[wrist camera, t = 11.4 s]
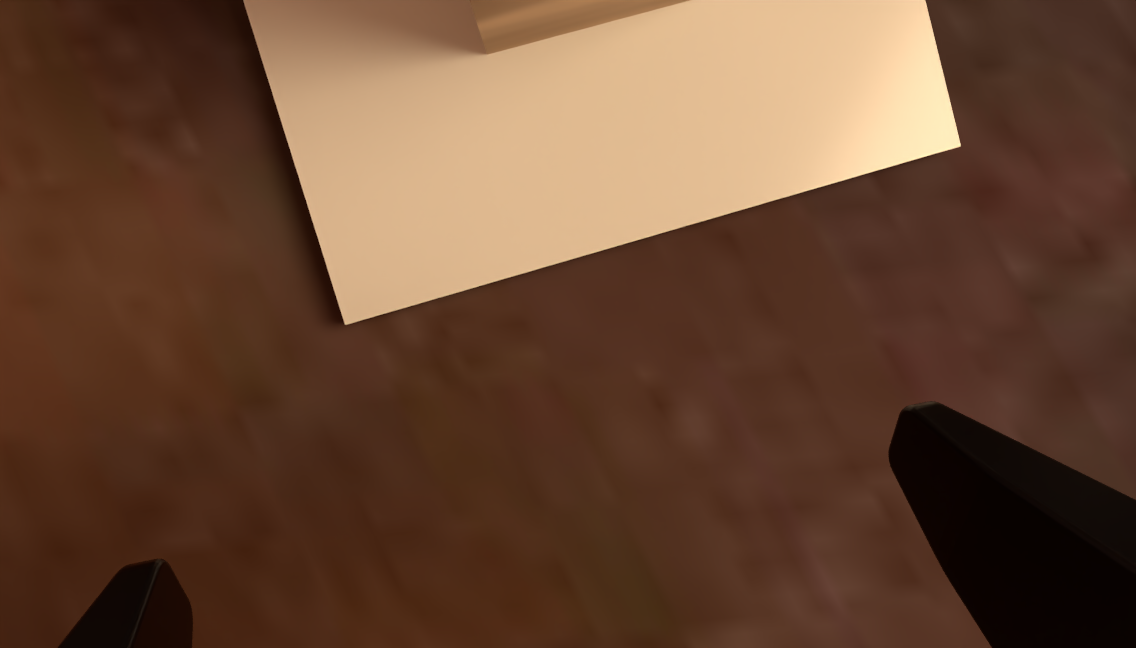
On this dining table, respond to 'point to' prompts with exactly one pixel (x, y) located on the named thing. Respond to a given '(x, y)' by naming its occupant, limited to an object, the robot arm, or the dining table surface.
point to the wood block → (549, 18)
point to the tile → (578, 127)
